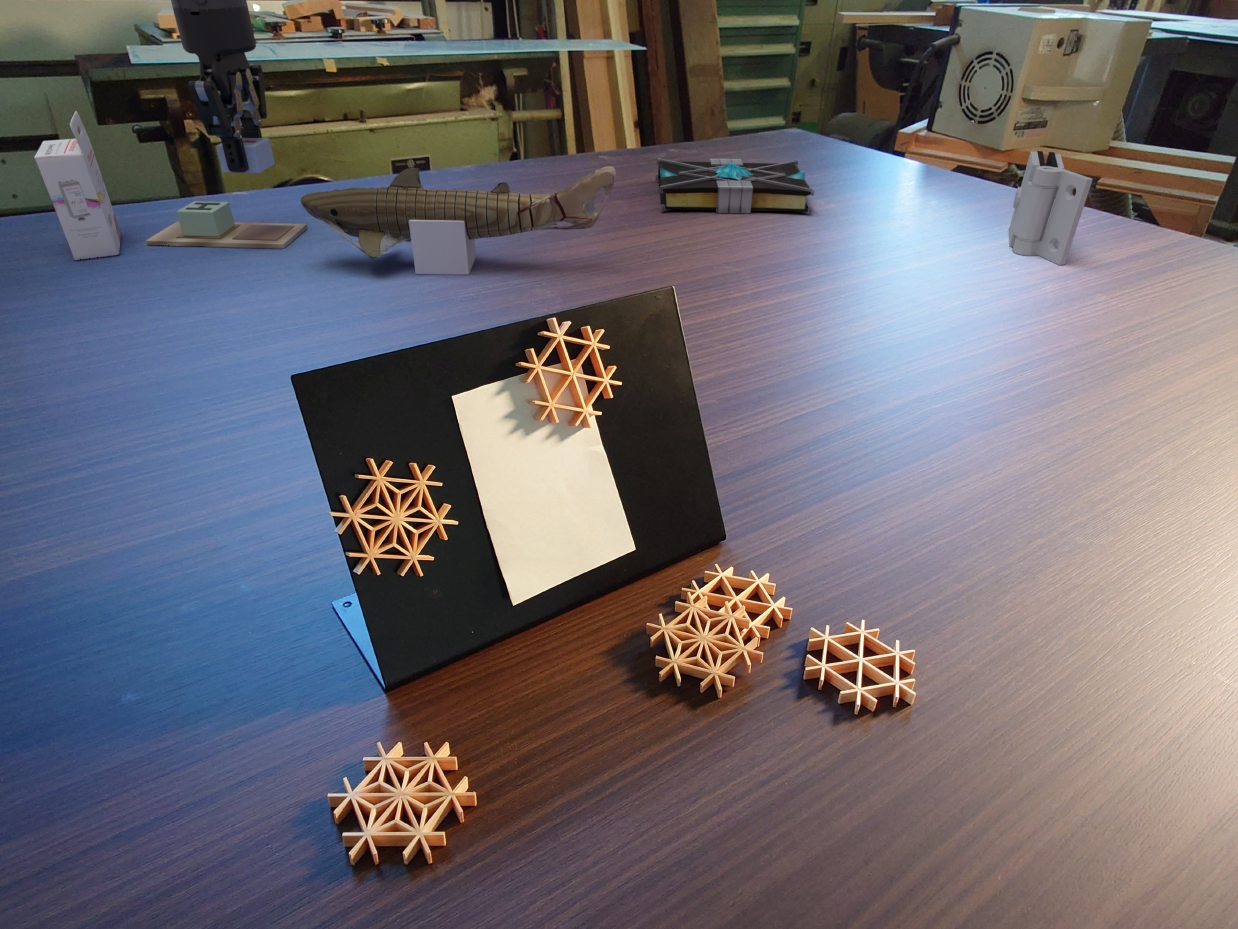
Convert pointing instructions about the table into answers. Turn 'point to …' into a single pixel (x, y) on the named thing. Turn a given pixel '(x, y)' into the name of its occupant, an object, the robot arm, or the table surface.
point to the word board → (234, 236)
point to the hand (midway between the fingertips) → (248, 165)
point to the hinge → (1047, 208)
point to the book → (732, 186)
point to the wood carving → (451, 216)
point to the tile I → (252, 155)
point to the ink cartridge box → (79, 194)
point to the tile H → (205, 218)
